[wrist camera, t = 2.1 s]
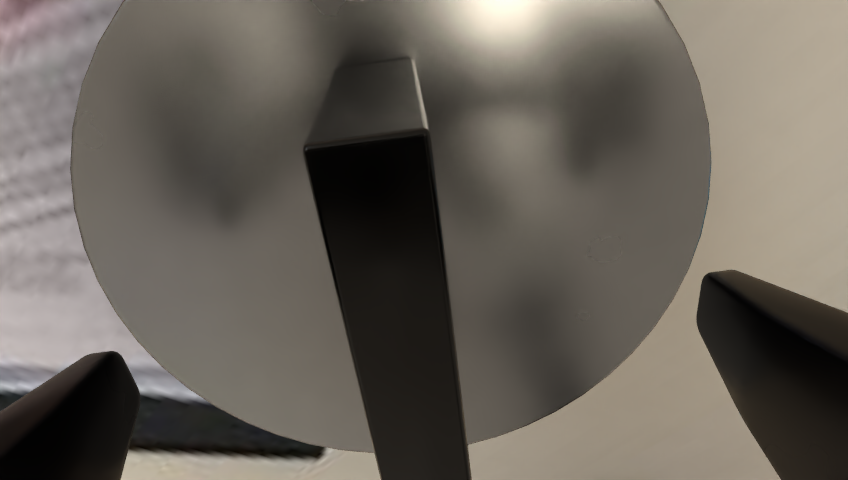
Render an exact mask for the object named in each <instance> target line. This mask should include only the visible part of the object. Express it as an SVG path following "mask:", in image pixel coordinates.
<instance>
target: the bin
mask: <svg viewBox="0 0 848 480" xmlns="http://www.w3.org/2000/svg"><path fill="white" fill-rule="evenodd" d="M70 170H71V180H72V190H73V200H74V210H75V214H76V218H77V221H78V225H79V229H80V233H81V237H82V241H83V245H84V248H85V251H86V253H87V256H88V258H89V260H90V263H91V265H92V268H93V270H94V273H95V275H96V278H97V280H98V282H99V284H100V286H101V287H102V289H103V291H104V293H105V294H106V296H107V298H108V300H109V301H110V303H111V305H112V307H113V308H114V310H115V312H116V313H117V315H118V316H119V317H120V319H121V320H122V321H123V323H124V324H125V325H126V327H127V328H128V329H129V331H130V332H131V333H132V335H133V336H134V337H135V338H136V340H137V341H138V342H139V343H140V344H141V345H142V346H143V347H144V348H145V350H146V351H147V352H148V353H149V354H150V355H151V356H152V357H153V358H154V359H155V360H156V361H157V362H158V363H159V364H160V365H161V366H162V367H163V368H164V369H165V370H167V371H168V372H169V373H170V374H172V375H173V376H174V377H175V378H176V379H178V380H179V381H180V382H181V383H182V384H184V385H185V386H186V387H187V388H189V389H190V390H191V391H193V392H195V393H196V394H198V395H199V396H201V397H202V398H204V399H205V400H207V401H208V402H210V403H211V404H213V405H214V406H216V407H217V408H219V409H221V410H223V411H225V412H227V413H229V414H231V415H233V416H235V417H237V418H239V419H241V420H243V421H245V422H246V423H249V424H251V425H254V426H256V427H259V428H261V429H264V430H267V431H269V432H272V433H274V434H277V435H280V436H283V437H287V438H290V439H294V440H297V441H301V442H304V443H307V444H312V445H317V446H323V447H328V448H333V449H338V450H347V451H357V452H368V453H375V457H376V461H377V465H378V470H379V474H380V478H381V480H472V478H471V470H470V461H469V453H468V444H472V443H476V442H479V441H483V440H487V439H490V438H494V437H498V436H500V435H503V434H506V433H508V432H511V431H514V430H516V429H519V428H522V427H524V426H527V425H529V424H531V423H533V422H535V421H537V420H539V419H541V418H543V417H545V416H547V415H550V414H552V413H554V412H556V411H557V410H559V409H561V408H562V407H564V406H565V405H567V404H569V403H570V402H572V401H574V400H575V399H577V398H579V397H580V396H582V395H583V394H585V393H586V392H587V391H589V390H590V389H591V388H593V387H594V386H595V385H596V384H598V383H599V382H600V381H602V380H603V379H604V378H606V377H607V376H608V375H609V374H611V373H612V372H613V371H614V370H615V369H616V368H617V367H618V366H619V365H620V364H621V363H622V362H623V361H624V360H625V359H626V358H628V357H629V356H630V355H631V354H632V353H633V352H634V351H635V349H636V348H637V347H638V346H639V345H640V344H641V342H642V341H643V340H644V339H645V338H646V336H647V335H648V334H649V333H650V332H651V331H652V329H653V328H654V327H655V326H656V324H657V323H658V321H659V320H660V318H661V317H662V315H663V314H664V312H665V311H666V309H667V308H668V306H669V305H670V303H671V302H672V300H673V299H674V297H675V295H676V293H677V291H678V289H679V287H680V285H681V283H682V281H683V279H684V277H685V275H686V273H687V271H688V269H689V267H690V264H691V261H692V258H693V256H694V253H695V250H696V247H697V245H698V242H699V239H700V236H701V232H702V228H703V223H704V218H705V214H706V209H707V205H708V200H709V187H710V173H711V151H710V136H709V123H708V118H707V114H706V110H705V105H704V101H703V96H702V92H701V87H700V83H699V80H698V78H697V75H696V72H695V70H694V67H693V65H692V62H691V60H690V57H689V54H688V52H687V49H686V47H685V44H684V42H683V41H682V39H681V37H680V35H679V34H678V32H677V30H676V29H675V27H674V25H673V23H672V22H671V20H670V18H669V17H668V15H667V13H666V11H665V10H664V8H663V6H662V5H661V3H660V2H659V1H658V0H124V1H123V2H122V4H121V6H120V7H119V9H118V11H117V12H116V14H115V16H114V17H113V19H112V21H111V22H110V24H109V26H108V27H107V29H106V31H105V32H104V34H103V36H102V37H101V39H100V41H99V42H98V45H97V48H96V50H95V53H94V55H93V58H92V60H91V63H90V65H89V68H88V70H87V73H86V75H85V78H84V80H83V83H82V87H81V91H80V96H79V100H78V105H77V110H76V114H75V119H74V123H73V131H72V149H71V167H70Z"/></svg>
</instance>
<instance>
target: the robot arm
mask: <svg viewBox="0 0 848 480" xmlns="http://www.w3.org/2000/svg"><path fill="white" fill-rule="evenodd" d="M697 326H698V330H699V332H700V335H701V337H702V339H703V341H704V343H705V345H706V347H707V349H708V351H709V353H710V355H711V357H712V359H713V361H714V363H715V365H716V367H717V369H718V371H719V373H720V375H721V377H722V379H723V381H724V383H725V385H726V387H727V389H728V391H729V393H730V395H731V397H732V399H733V401H734V403H735V405H736V407H737V409H738V411H739V413H740V415H741V416H742V418H743V420H744V422H745V423H746V425H747V427H748V428H749V430H750V431H751V433H752V435H753V436H754V438H755V439H756V441H757V442H758V444H759V446H760V447H761V449H762V450H763V452H764V453H765V455H766V457H767V458H768V460H769V461H770V463H771V464H772V466H773V468H774V469H775V471H776V472H777V474H778V475H779V477H780V479H781V480H848V313H847V312H844V311H841V310H839V309H836V308H834V307H831V306H828V305H826V304H823V303H820V302H818V301H815V300H813V299H810V298H807V297H805V296H802V295H799V294H797V293H794V292H791V291H789V290H786V289H784V288H781V287H778V286H776V285H773V284H770V283H768V282H765V281H763V280H760V279H757V278H755V277H752V276H749V275H747V274H744V273H741V272H739V271H736V270H726V271H719V272H711V273H708V274H706V275H705V276H704V278H703V280H702V284H701V291H700V297H699V304H698V310H697ZM139 406H140V393H139V390H138V387H137V385H136V383H135V381H134V379H133V377H132V375H131V373H130V371H129V369H128V367H127V365H126V363H125V361H124V359H123V358H122V356H121V355H120V354H119V353H117V352H114V351H108V352H101V353H93V354H89V355H86V356H84V357H83V358H81V359H80V360H78V361H77V362H75V363H74V364H72V365H71V366H69V367H68V368H66V369H65V370H63V371H61V372H60V373H58V374H57V375H55V376H54V377H52V378H51V379H49V380H48V381H46V382H45V383H43V384H42V385H40V386H39V387H37V388H36V389H34V390H33V391H31V392H30V393H28V394H27V395H25V396H23V397H22V398H20V399H19V400H17V401H16V402H14V403H13V404H11V405H10V406H8V407H7V408H5V409H4V410H2V411H1V412H0V480H120V479H121V475H122V472H123V468H124V464H125V460H126V456H127V452H128V449H129V445H130V441H131V437H132V433H133V430H134V426H135V422H136V418H137V414H138V410H139Z"/></svg>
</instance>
